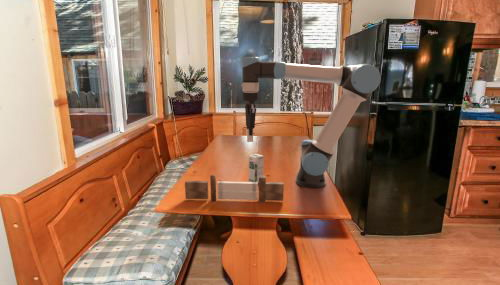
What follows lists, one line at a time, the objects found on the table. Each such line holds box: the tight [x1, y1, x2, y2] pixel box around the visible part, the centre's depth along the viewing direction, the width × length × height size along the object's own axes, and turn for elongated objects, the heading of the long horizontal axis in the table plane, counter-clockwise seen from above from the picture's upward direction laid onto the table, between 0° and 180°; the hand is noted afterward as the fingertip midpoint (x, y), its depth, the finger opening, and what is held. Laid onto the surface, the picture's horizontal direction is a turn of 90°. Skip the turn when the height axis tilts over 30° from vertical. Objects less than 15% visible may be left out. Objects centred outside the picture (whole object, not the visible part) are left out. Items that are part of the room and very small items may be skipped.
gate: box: [216, 180, 259, 201], centre depth 131 cm, size 18×2×8 cm, turn 88°
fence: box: [184, 174, 285, 204], centre depth 131 cm, size 44×3×12 cm, turn 88°
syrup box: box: [248, 153, 264, 184], centre depth 153 cm, size 6×6×14 cm
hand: (250, 141), depth 139 cm, fingers closed
